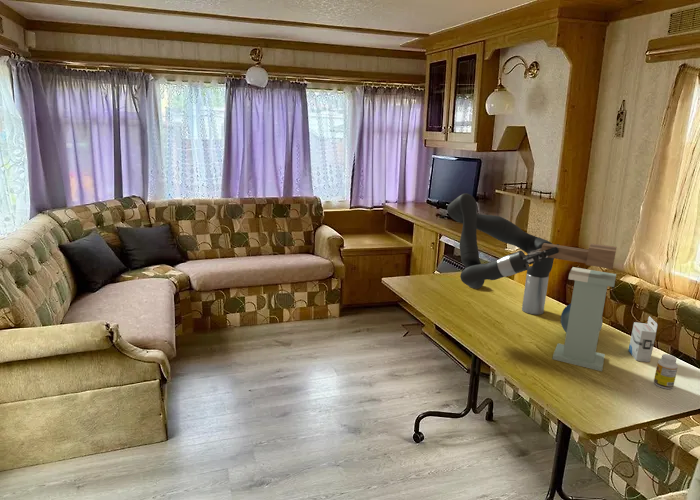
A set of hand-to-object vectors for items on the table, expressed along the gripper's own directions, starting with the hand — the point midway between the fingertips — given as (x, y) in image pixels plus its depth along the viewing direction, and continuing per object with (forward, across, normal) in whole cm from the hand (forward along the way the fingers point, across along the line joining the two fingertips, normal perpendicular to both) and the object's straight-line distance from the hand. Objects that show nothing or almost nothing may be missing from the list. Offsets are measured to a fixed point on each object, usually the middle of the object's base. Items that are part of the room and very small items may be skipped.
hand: (558, 248), depth 173 cm
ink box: (+7, +15, +50) cm, 52 cm away
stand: (-9, 0, +40) cm, 41 cm away
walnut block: (+4, 0, +6) cm, 7 cm away
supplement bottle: (+13, -5, +53) cm, 55 cm away
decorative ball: (-11, +20, +39) cm, 45 cm away
